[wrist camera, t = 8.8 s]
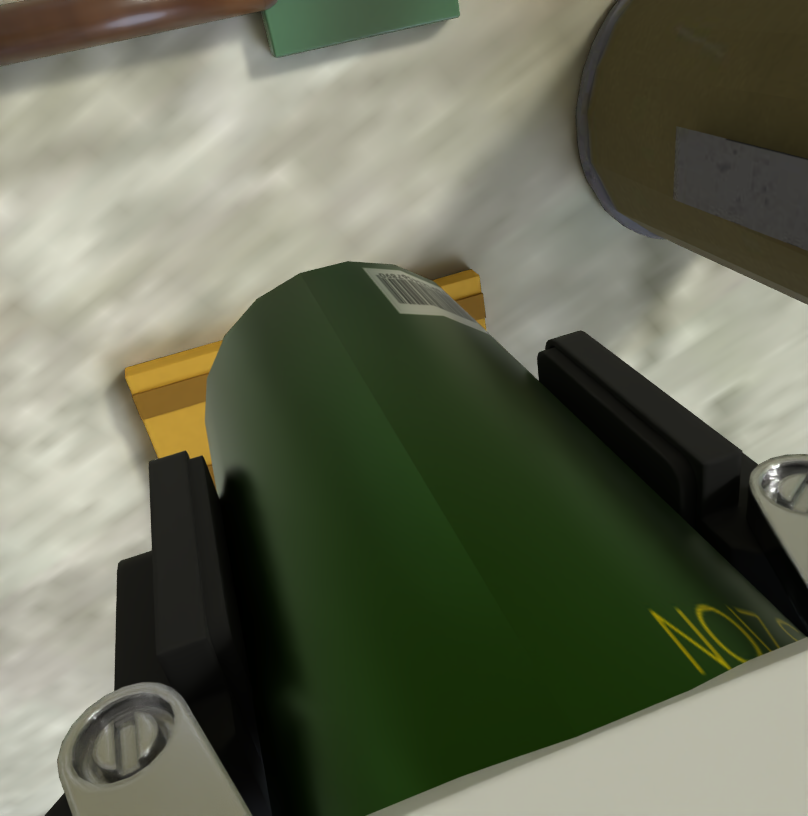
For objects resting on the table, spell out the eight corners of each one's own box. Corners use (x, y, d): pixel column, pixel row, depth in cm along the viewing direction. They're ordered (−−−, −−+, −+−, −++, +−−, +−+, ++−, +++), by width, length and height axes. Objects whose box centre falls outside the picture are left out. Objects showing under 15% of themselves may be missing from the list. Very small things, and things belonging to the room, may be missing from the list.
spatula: (-96, 139, 22) (-109, 147, 21) (-175, -21, 20) (-194, -22, 19) (453, 16, 25) (469, 17, 24) (434, -135, 23) (451, -141, 22)
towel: (179, 502, 30) (181, 515, 29) (124, 367, 27) (124, 378, 26) (489, 403, 32) (498, 413, 31) (471, 268, 29) (480, 275, 28)
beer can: (236, 217, 13) (595, 986, 3) (508, 283, 15) (1257, 861, 5) (175, 486, 15) (264, 1499, 5) (423, 510, 17) (840, 1253, 7)
